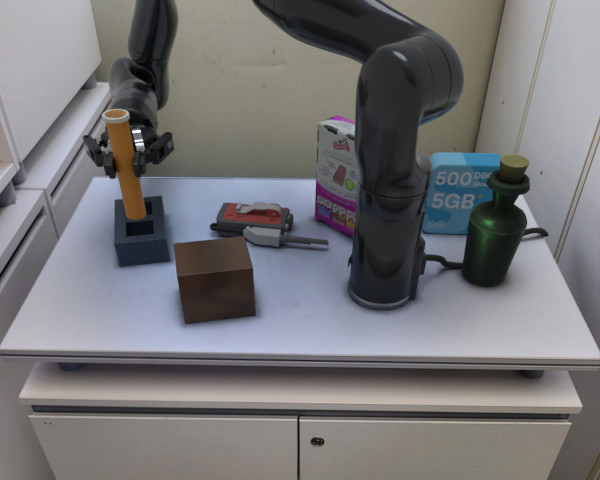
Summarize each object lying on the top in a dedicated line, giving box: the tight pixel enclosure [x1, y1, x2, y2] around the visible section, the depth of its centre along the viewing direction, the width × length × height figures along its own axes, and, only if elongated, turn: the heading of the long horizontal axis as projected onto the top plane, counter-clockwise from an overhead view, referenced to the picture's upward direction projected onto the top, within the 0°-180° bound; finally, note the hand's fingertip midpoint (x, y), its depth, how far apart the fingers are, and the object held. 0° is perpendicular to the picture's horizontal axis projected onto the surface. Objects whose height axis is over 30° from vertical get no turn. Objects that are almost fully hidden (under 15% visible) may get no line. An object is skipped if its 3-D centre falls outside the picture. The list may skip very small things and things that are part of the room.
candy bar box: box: [314, 115, 359, 239], centre depth 95 cm, size 11×5×16 cm, turn 44°
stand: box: [172, 236, 257, 325], centre depth 83 cm, size 10×8×8 cm
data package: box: [422, 151, 502, 235], centre depth 96 cm, size 12×4×12 cm, turn 88°
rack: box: [113, 195, 171, 267], centre depth 95 cm, size 8×14×4 cm, turn 12°
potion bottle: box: [461, 154, 531, 287], centre depth 84 cm, size 8×8×18 cm
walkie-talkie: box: [209, 201, 329, 248], centre depth 97 cm, size 9×4×20 cm
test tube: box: [101, 109, 146, 220], centre depth 85 cm, size 4×4×15 cm
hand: (124, 171), depth 82 cm, fingers closed on test tube, 3 cm apart
